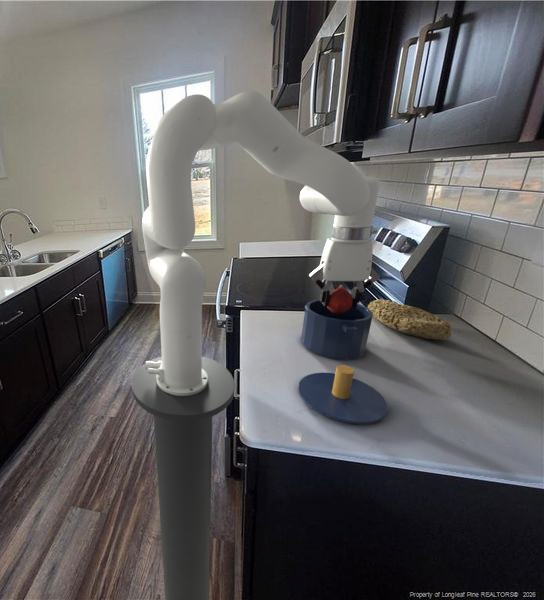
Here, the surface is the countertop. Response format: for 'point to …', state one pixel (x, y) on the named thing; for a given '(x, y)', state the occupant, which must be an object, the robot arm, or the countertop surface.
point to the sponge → (410, 320)
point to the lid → (343, 397)
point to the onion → (340, 301)
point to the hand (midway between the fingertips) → (338, 304)
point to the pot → (336, 331)
